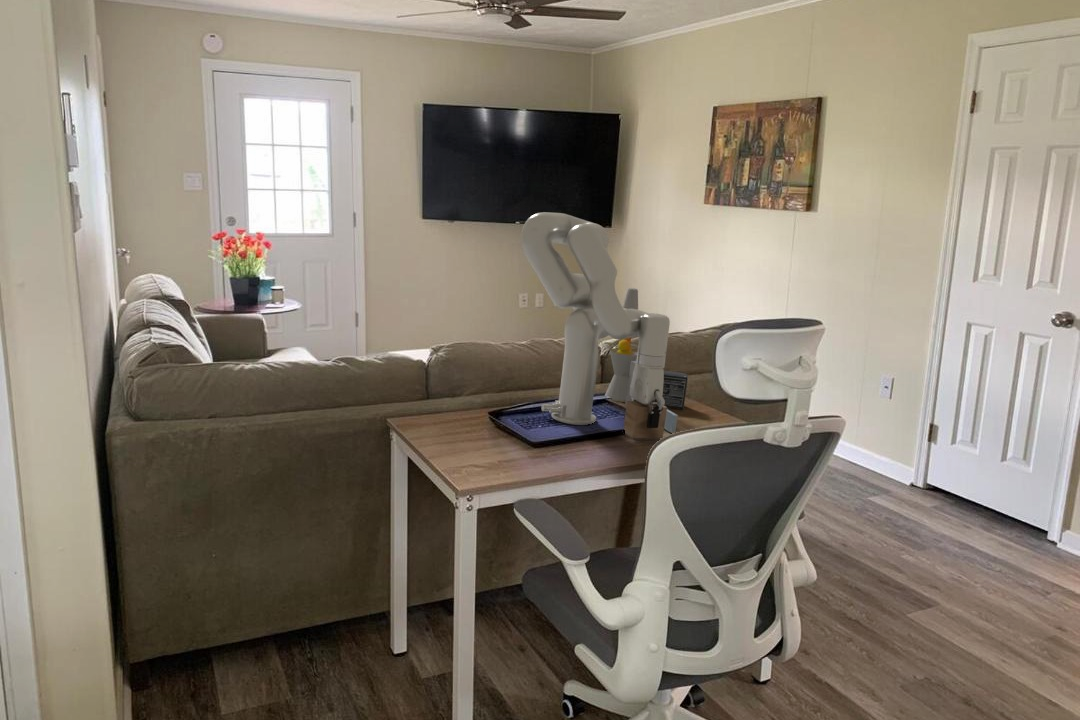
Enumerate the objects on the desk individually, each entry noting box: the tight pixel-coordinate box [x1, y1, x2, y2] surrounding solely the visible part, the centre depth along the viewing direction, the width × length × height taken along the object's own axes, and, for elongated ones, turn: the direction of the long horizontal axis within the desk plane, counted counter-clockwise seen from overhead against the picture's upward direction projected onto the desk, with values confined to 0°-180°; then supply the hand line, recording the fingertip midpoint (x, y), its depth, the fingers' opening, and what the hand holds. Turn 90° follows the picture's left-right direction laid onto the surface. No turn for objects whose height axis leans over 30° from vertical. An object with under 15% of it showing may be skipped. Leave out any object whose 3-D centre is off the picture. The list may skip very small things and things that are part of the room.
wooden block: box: [622, 401, 668, 441], centre depth 219 cm, size 9×6×9 cm, turn 111°
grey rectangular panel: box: [624, 361, 636, 407], centre depth 243 cm, size 2×10×16 cm, turn 21°
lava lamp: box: [604, 287, 639, 402], centre depth 253 cm, size 9×9×35 cm
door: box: [664, 408, 679, 434], centre depth 230 cm, size 2×15×5 cm, turn 21°
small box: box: [662, 370, 689, 410], centre depth 253 cm, size 11×6×10 cm, turn 84°
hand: (643, 422), depth 218 cm, fingers open, 9 cm apart
